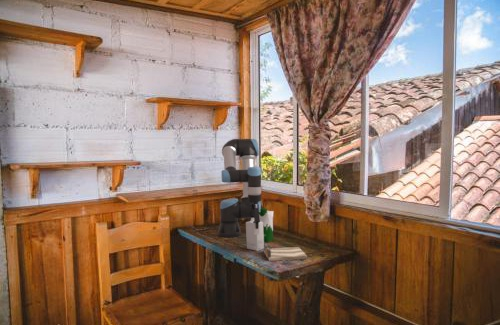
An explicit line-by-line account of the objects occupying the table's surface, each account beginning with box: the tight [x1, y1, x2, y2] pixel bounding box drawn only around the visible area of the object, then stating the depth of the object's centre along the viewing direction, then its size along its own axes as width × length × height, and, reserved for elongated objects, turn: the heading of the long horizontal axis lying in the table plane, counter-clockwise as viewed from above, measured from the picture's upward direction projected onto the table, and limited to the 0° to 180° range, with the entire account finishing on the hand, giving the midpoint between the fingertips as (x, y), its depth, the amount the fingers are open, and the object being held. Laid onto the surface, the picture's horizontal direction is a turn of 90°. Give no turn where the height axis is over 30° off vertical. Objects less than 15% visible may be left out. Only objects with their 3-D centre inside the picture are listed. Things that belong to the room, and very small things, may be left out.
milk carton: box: [259, 207, 275, 244], centre depth 222 cm, size 9×9×20 cm
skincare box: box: [245, 220, 265, 252], centre depth 205 cm, size 8×7×16 cm
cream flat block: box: [263, 242, 308, 262], centre depth 193 cm, size 16×21×5 cm
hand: (254, 231), depth 205 cm, fingers open, 13 cm apart
